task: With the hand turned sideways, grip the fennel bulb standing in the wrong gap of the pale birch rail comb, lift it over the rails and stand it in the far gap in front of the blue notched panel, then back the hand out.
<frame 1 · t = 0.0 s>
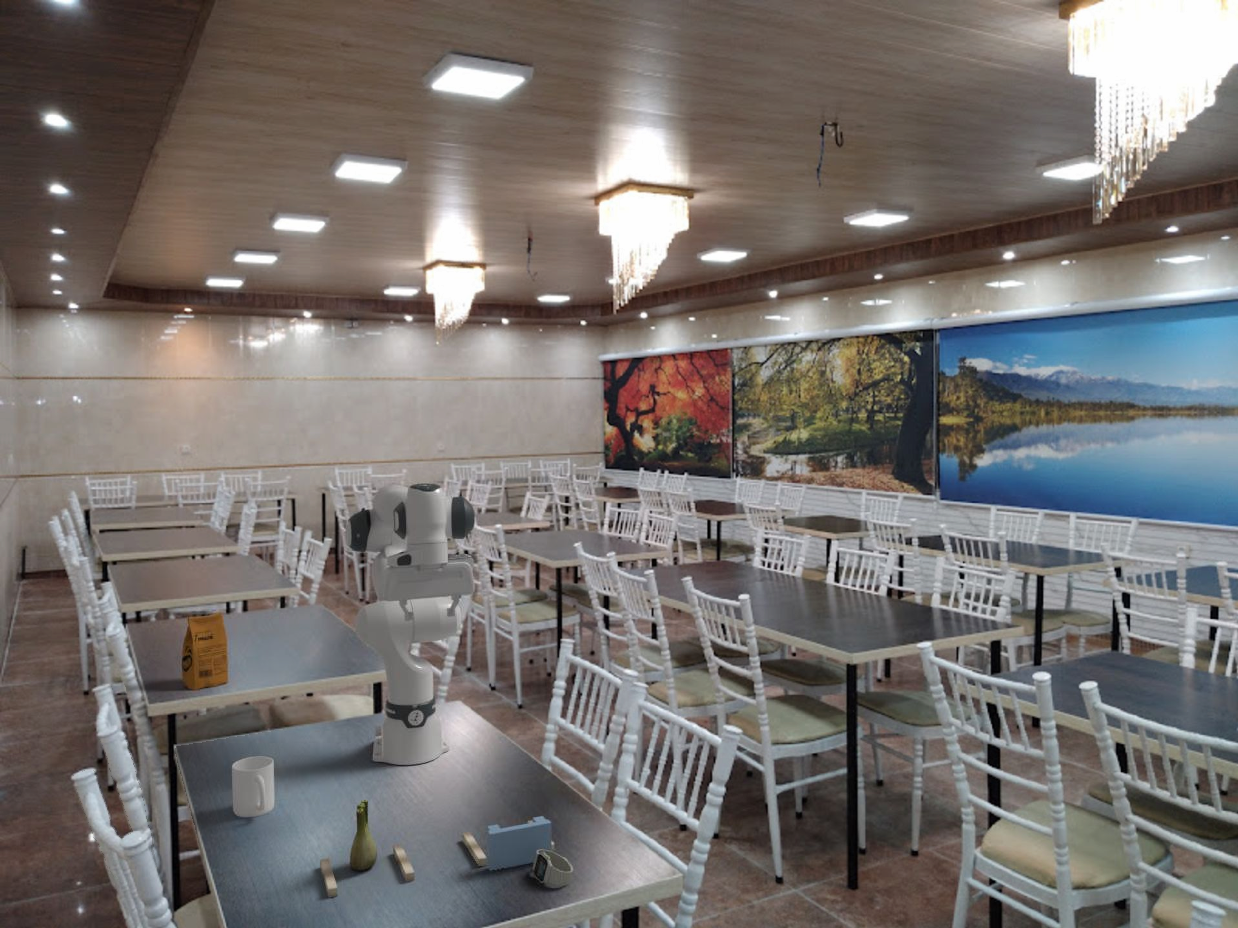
hand: (430, 618, 212), 39 cm above the table, tool pointing down, fingers open, 8 cm apart
cup: (256, 813, 202), on the table
wristwatch: (553, 878, 174), on the table
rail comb: (439, 859, 180), on the table
coffee package: (205, 685, 297), on the table
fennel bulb: (364, 867, 178), on the table
blue notched panel: (520, 862, 179), on the table
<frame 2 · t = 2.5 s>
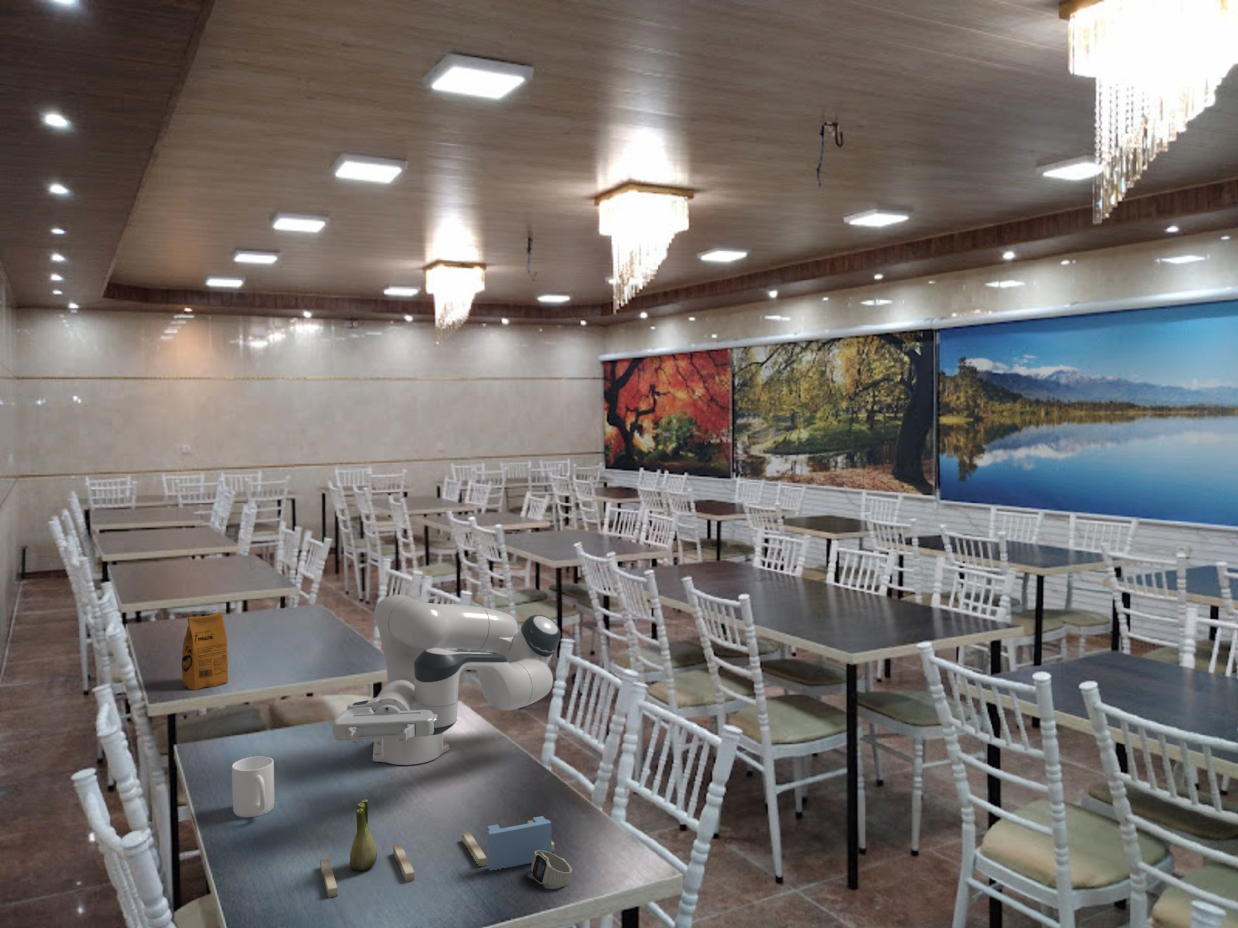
hand: (378, 737, 189), 20 cm above the table, tool horizontal, fingers open, 8 cm apart
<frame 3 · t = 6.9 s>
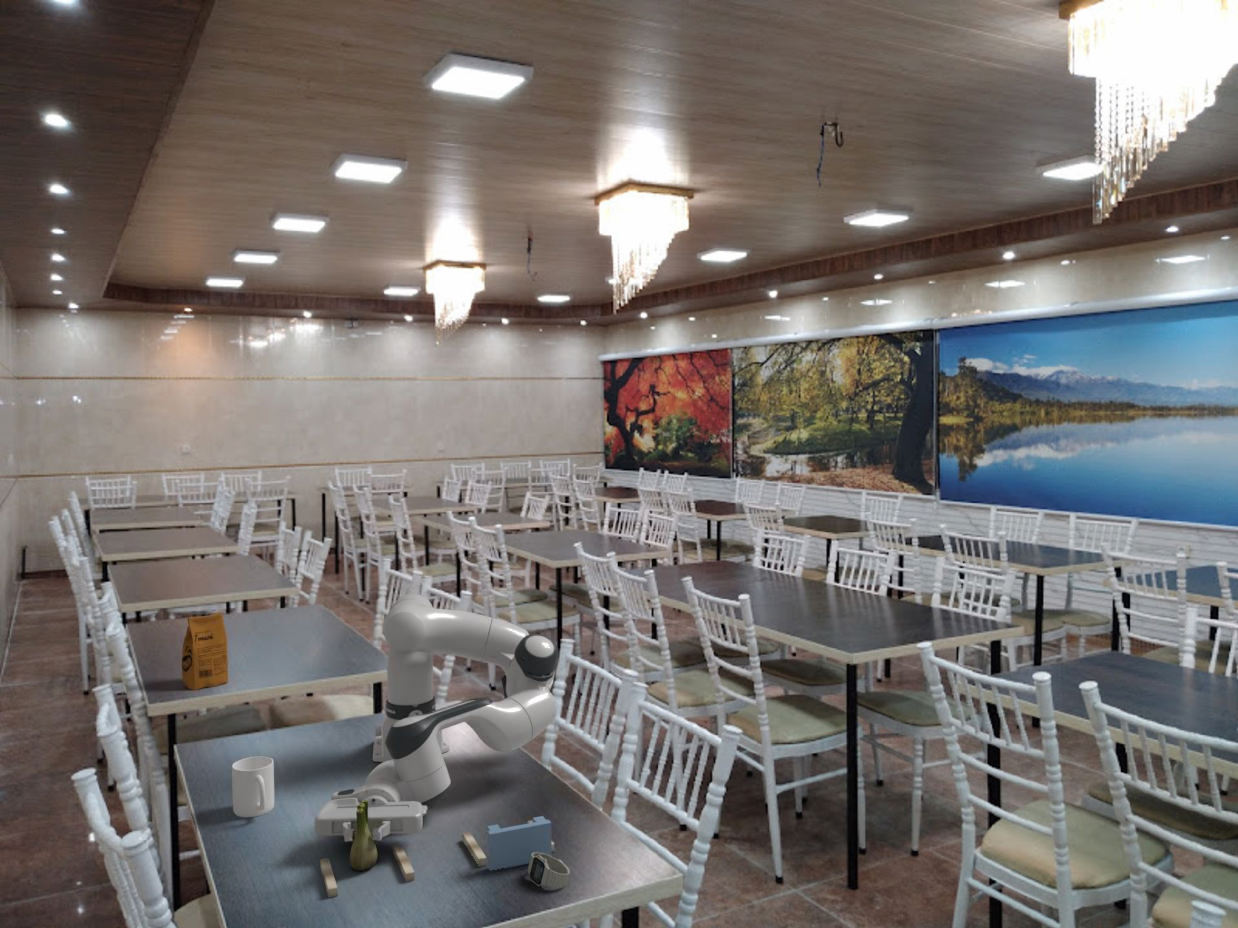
hand: (362, 837, 177), 6 cm above the table, tool horizontal, fingers closed on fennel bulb, 4 cm apart
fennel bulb: (364, 867, 178), on the table, touching gripper
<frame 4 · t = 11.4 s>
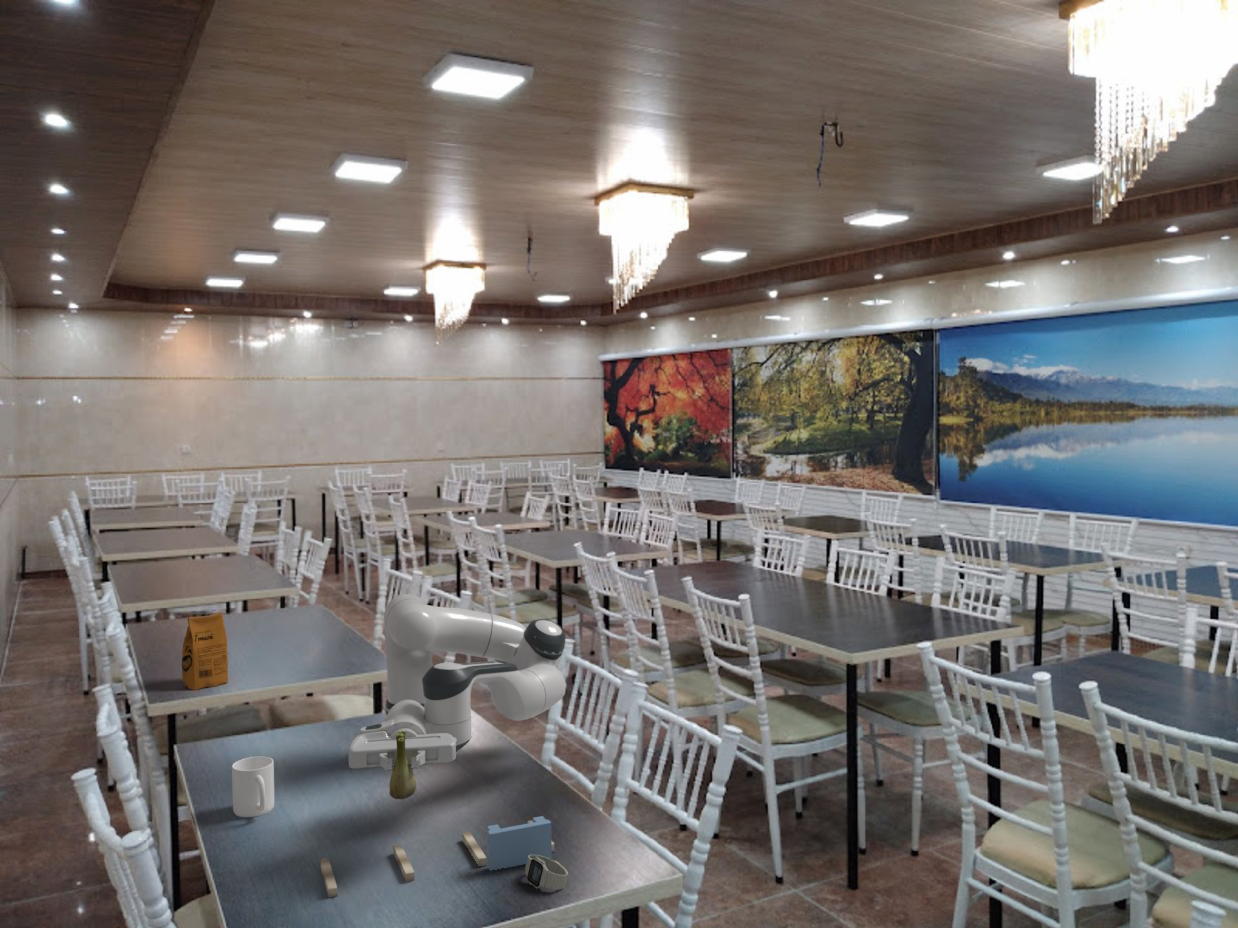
hand: (401, 765, 178), 19 cm above the table, tool horizontal, fingers closed on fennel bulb, 3 cm apart
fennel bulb: (403, 797, 179), point 12 cm above the table, touching gripper
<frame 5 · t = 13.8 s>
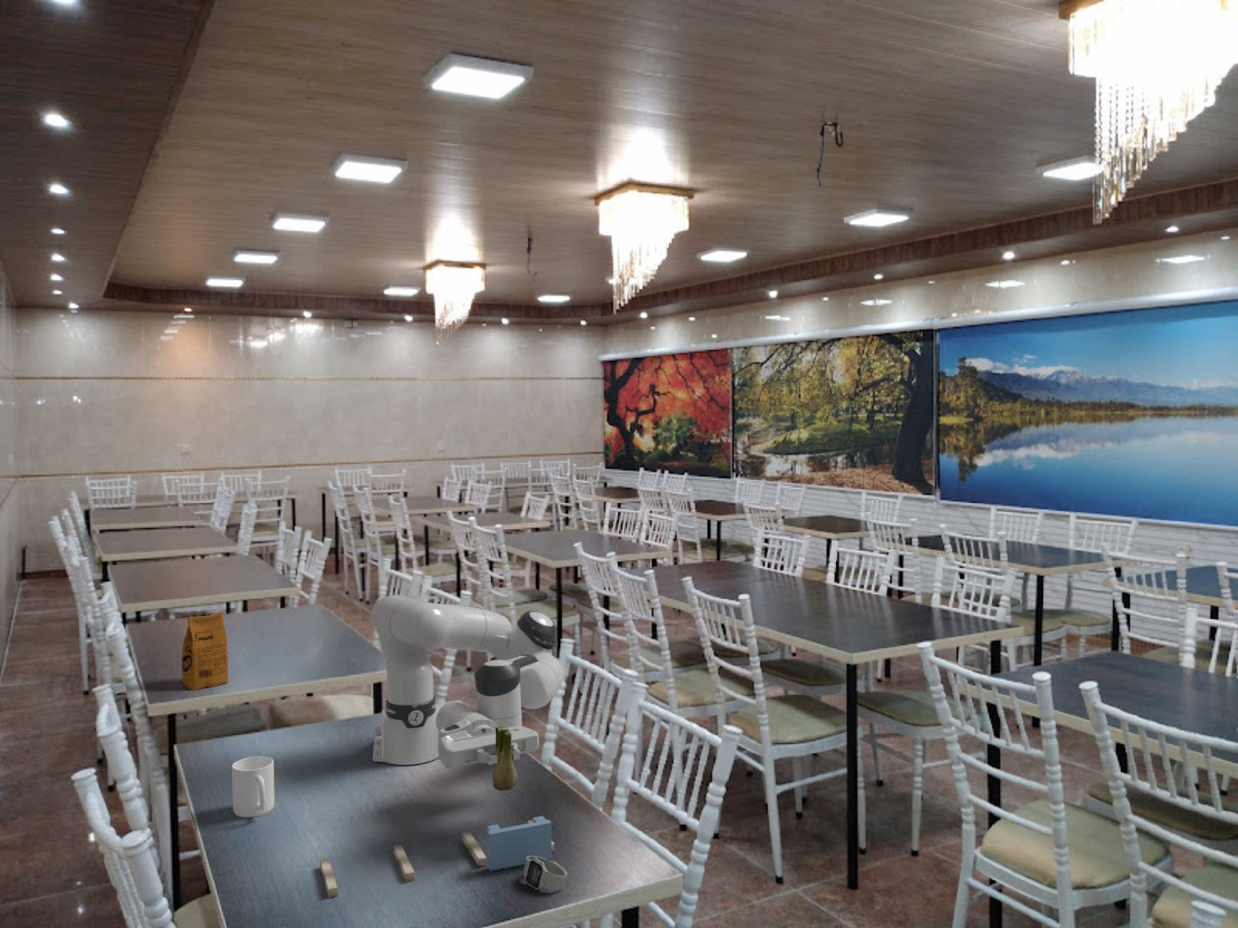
hand: (505, 758, 187), 17 cm above the table, tool horizontal, fingers closed on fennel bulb, 3 cm apart
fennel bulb: (504, 788, 188), point 10 cm above the table, touching gripper
when the fingers open (7 cm above the table, at t = 15.6 s): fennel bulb drops 1 cm, on the table.
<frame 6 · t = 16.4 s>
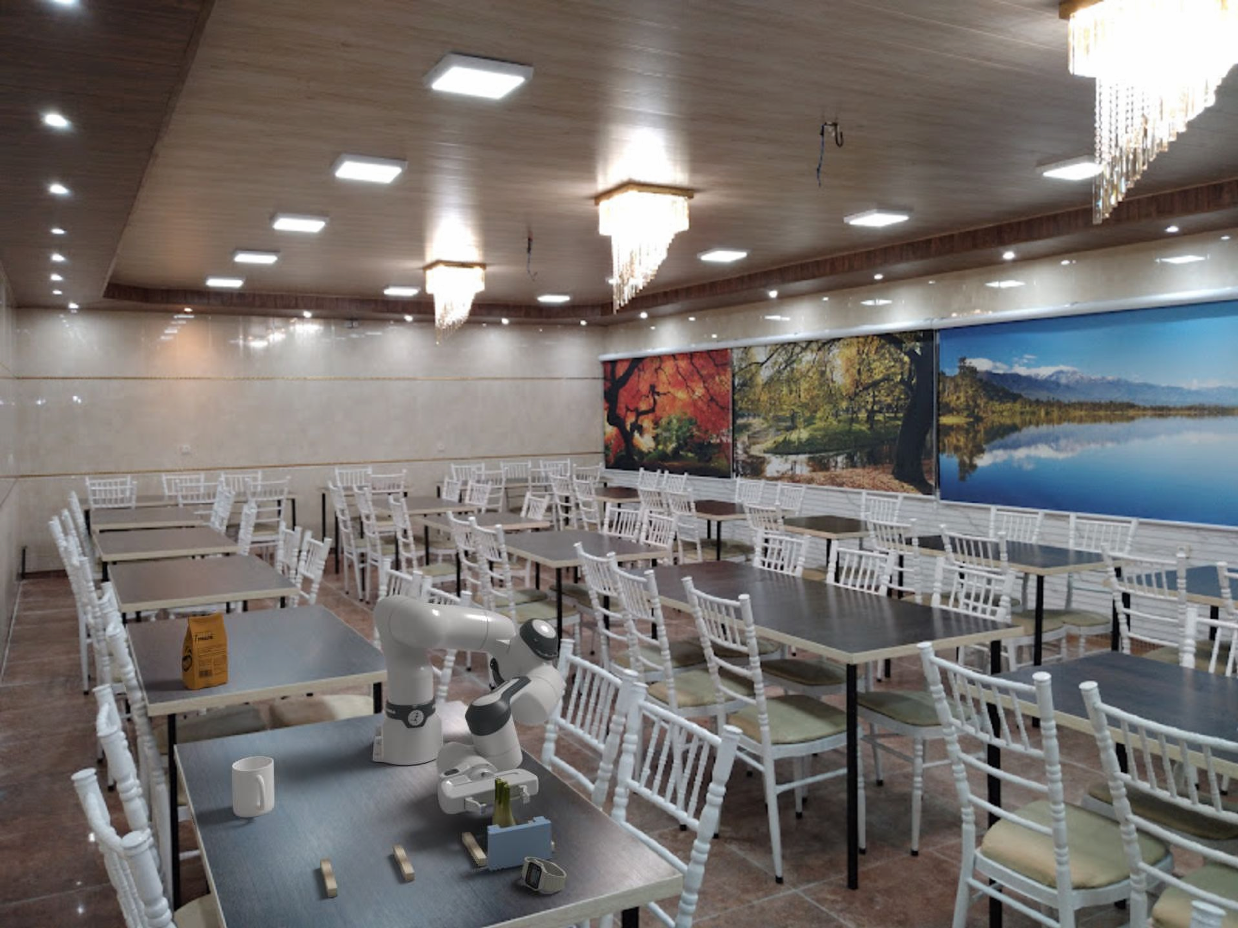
hand: (504, 804, 187), 7 cm above the table, tool horizontal, fingers open, 8 cm apart
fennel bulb: (504, 840, 189), on the table
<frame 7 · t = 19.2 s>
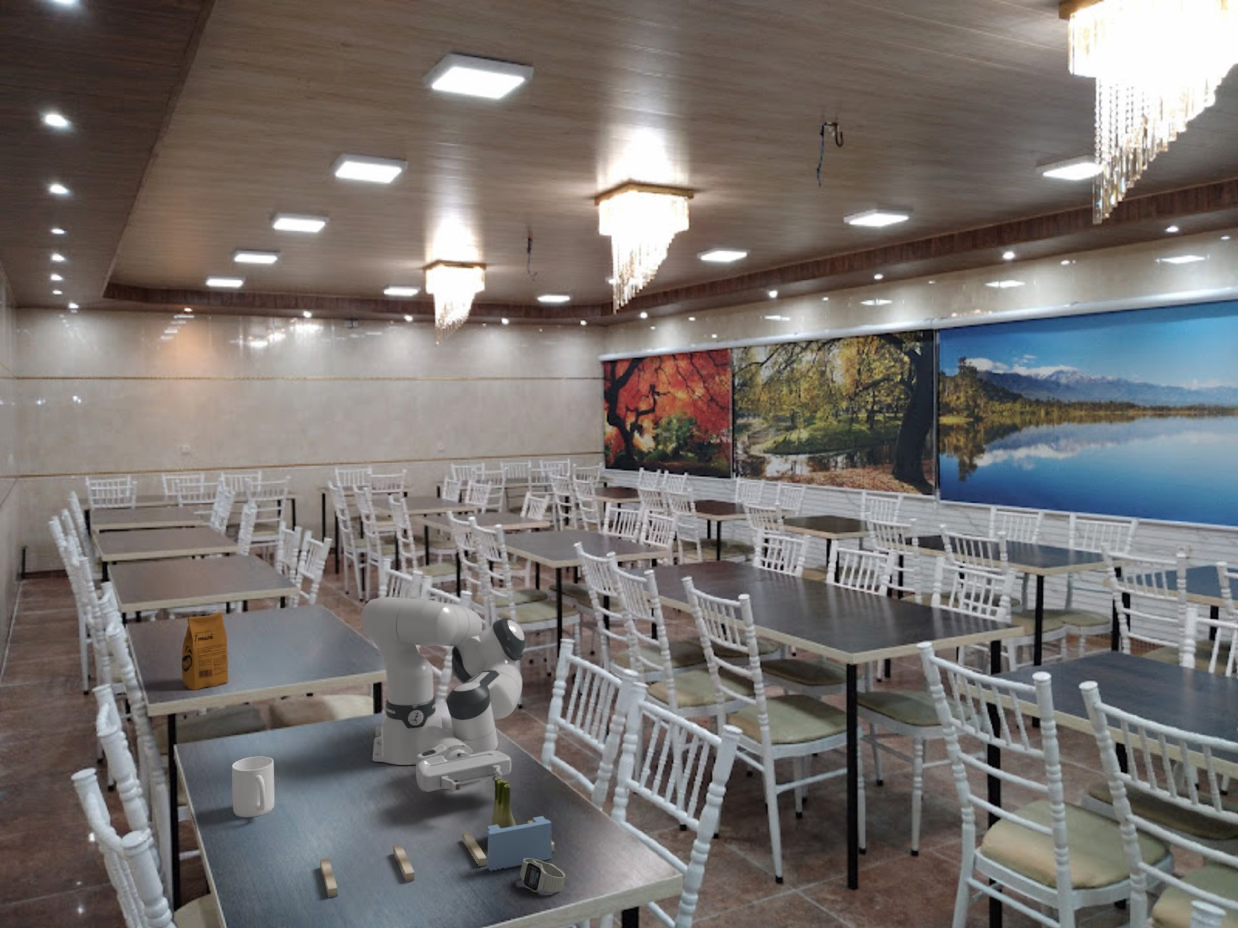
hand: (478, 782, 198), 7 cm above the table, tool horizontal, fingers open, 8 cm apart
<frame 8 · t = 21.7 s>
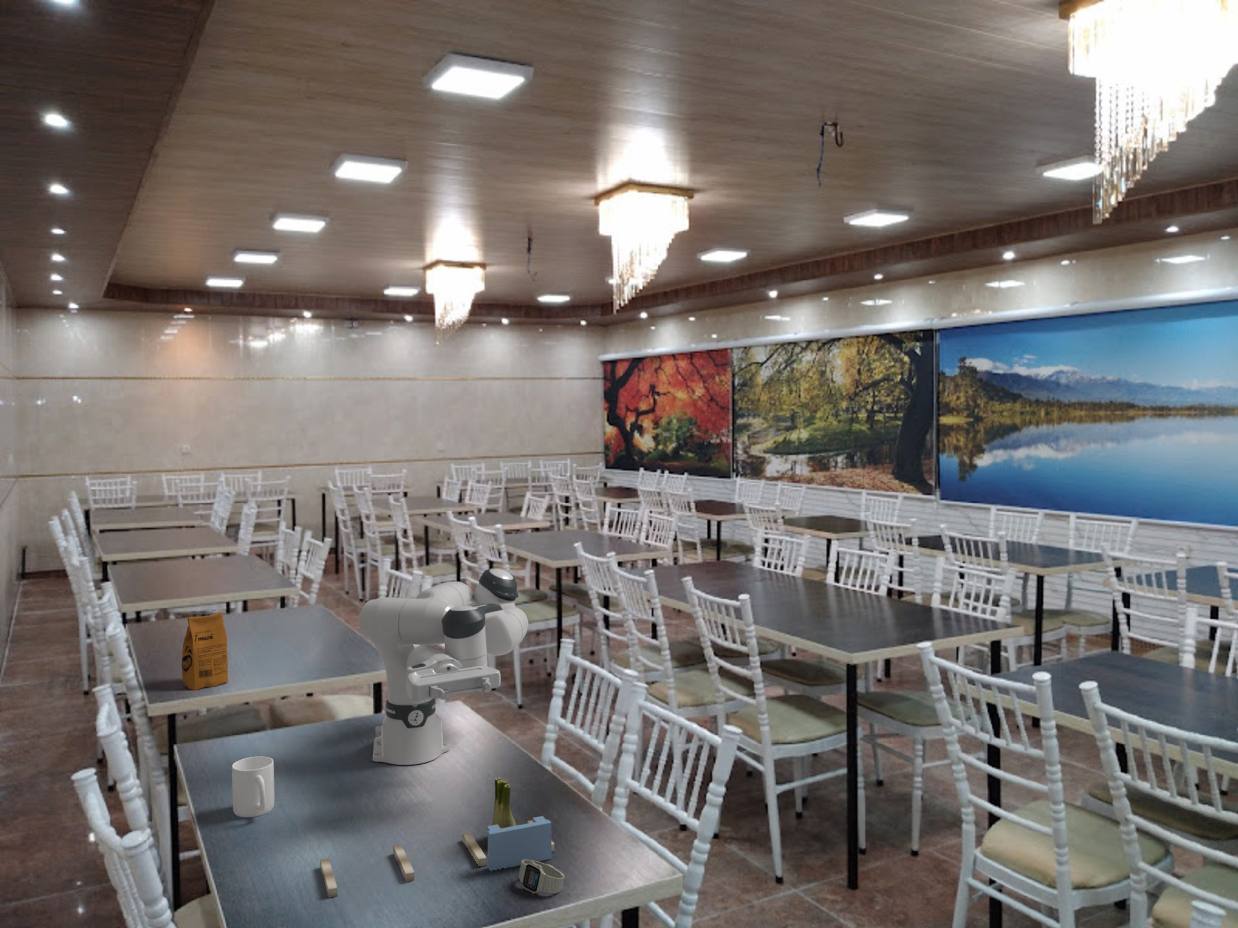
hand: (467, 691, 200), 26 cm above the table, tool horizontal, fingers open, 8 cm apart
at the end: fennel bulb inside the target area (0.2 cm from its centre), on the table; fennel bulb tilted 0°; the gripper is holding nothing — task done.
